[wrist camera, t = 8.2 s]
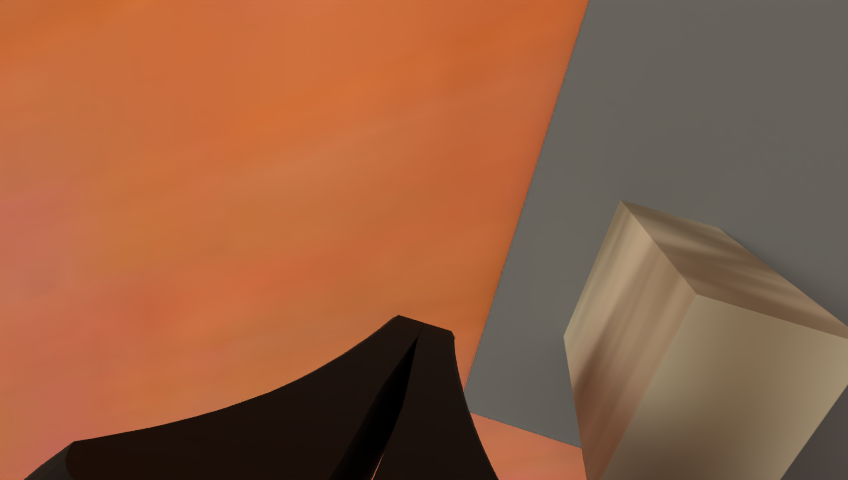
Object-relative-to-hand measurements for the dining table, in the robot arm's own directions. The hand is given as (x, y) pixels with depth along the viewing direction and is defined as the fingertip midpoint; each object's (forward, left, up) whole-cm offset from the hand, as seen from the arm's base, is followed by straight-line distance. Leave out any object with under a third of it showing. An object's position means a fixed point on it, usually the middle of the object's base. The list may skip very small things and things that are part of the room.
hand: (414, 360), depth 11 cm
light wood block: (-7, 0, -9) cm, 11 cm away
